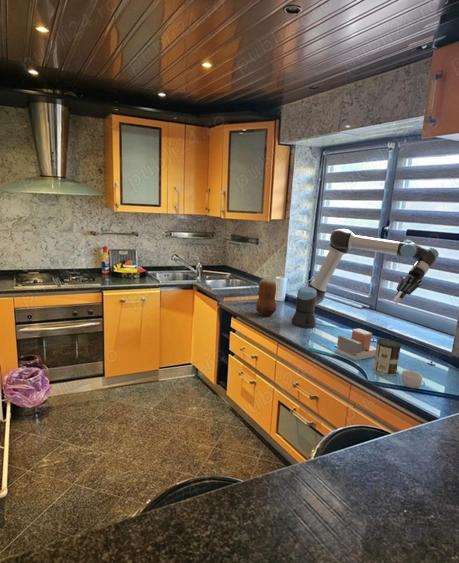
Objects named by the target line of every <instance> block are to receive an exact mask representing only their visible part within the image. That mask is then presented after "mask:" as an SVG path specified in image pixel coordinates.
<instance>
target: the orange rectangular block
mask: <svg viewBox="0 0 459 563" xmlns="http://www.w3.org/2000/svg"><path fill="white" fill-rule="evenodd" d="M372 335H373V333H372V332H370V331H367V330H365V329H362V328H353V329H352V332H351V337H350V338H351V339H354V340H356V341H359V342H361V343H362V351H365V350H369V349H370V346H371V343H372V342H371V341H372Z"/></svg>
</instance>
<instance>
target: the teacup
mask: <svg viewBox="0 0 459 563" xmlns="http://www.w3.org/2000/svg"><path fill="white" fill-rule="evenodd" d="M422 379H423V375H422V374H421V373H419V372H417V371H413V370H408V369H406V370H402V372H401V382H402V384H403V385H404V386H405V387H406V386H407V387H406V388H409V387H410V388H409V389H417V388H423V387H425V386H426V383H425V381H424V380H422ZM422 384H423V385H422Z"/></svg>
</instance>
